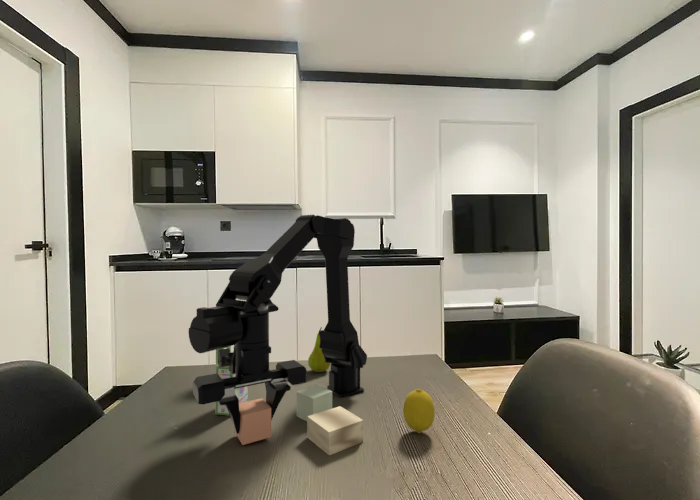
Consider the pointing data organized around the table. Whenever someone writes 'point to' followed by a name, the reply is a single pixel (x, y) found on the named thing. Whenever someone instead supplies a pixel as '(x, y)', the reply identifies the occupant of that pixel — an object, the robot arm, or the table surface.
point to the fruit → (317, 357)
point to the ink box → (239, 392)
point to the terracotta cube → (254, 421)
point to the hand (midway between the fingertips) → (252, 428)
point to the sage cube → (313, 401)
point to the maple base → (334, 430)
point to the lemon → (419, 410)
